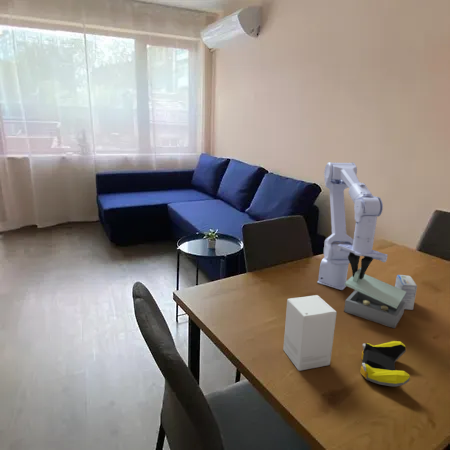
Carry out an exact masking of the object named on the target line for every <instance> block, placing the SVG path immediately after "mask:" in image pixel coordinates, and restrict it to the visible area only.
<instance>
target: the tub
mask: <svg viewBox="0 0 450 450" xmlns="http://www.w3.org/2000/svg"><path fill="white" fill-rule="evenodd" d="M404 308H405V302H404V301H401V302H400V304H399V305H398V307H397V309H396V308H394V307H392V306H389V305H387V304H385V303H383V302H381V301H378V300H376V299H374V298H372V297H370V296H368V295H365V294H363V293H361V292H359V291H357V290H353V292H352V293H351V294H350V295H349V296H348V297H347V298H346V299H345V300H344V308H343V312H344V313H347V314H350V315H354V316H357V317H360V318H362V319H364V320H368V321H371V322H374V323H377V324H381V325H383V326H386V327H389V328H392V329H395V328H396V327H397V326H398V323H399V322H400V320H401V318H402V316H403V315H404V312H405V309H404Z"/></svg>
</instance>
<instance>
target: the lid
mask: <svg viewBox="0 0 450 450" xmlns="http://www.w3.org/2000/svg"><path fill="white" fill-rule="evenodd" d="M360 272H361V266H360V267H358V270H357V271H356V272H355V275H354V277H353V274H352V275H351V276H350V277H349V278H348V279H347V280H346V282H345V285H346V287H348V288H349V289H352V290H353V291H355V290H357V291H359V292H361V293H363V294H365V295H368V296H370V297H372V298H374V299H376V300H378V301H381V302H383V303H385V304H387V305H389V306H392V307H394V308H396V309H397V307H398V305H399V304H400V302H401V301H402V299H403V297H404V296H405V294H406V291H404V290H401V289H399V288H397V287H395V285H391V284H389V283H387V282H384V281H383V280H380V279H378V278H376V277H373V276H371V275H368V274H366V273H365V274H364V278H363V279H359V278H360Z"/></svg>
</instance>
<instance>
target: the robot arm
mask: <svg viewBox="0 0 450 450" xmlns="http://www.w3.org/2000/svg"><path fill="white" fill-rule="evenodd" d="M357 174H358V167H357V165H356V163H355V162H330V161H328V162H327V163H326V165H325V167H324V171H323V175H324V176H323V177H324V184H325V185H324V186H325V188H327V189H328V191H329V202H330V203H329V204H330V205H329V206H330V225H331V234H330V235H329V236H328V237H326V238H325V240H324V242H323V243H324V247H323V258H322V259H321V261H320V265H319V271H318V278H317V279H318V280H317V284H320V285H324V286H327V287H330V288H334V289H337V290H340V291H343V290H344V289H345V288H346V287H347V286H346V285H345V282H346V281H347V280H348V279H347V278H348V271H349V265H350V267H351V273H352V275H353V277H354V275H355V272H356V271H357V270H358V269H359V262H360V261H361V262H360V267H361V272H360V278H359V279H363V278H364V274H366V271H367V270H368V268H369V266H370V264H371V263H372V262H373V260H377V261H381V262H382V263H386V262H387V261H388V254H386V253H383V252H380V251H377V250H374V249H373V247H374V240H375V234H376V228H377V221H378V217H380V216H381V214H382V213H383V209H384V208H383V207H384V206H383V204H384V203H383V201H382V199H381V197H380V196H376V195H373V194H372V192H371V191H370V189H369V188H368V187H367V186H368V185H366V184H365V182H360V180H359V177H358V176H357ZM348 188H349V189H348ZM346 189H348V196H349V197H350V198H351V199H350V200H352V203H353V204H354V206H353V209H354V221H355V225H354V227H355V228H354V232H353V233H354V234H353V238H352V237H351V236H350V235H348V234H347V226H346V225H347V223H346V222H347V221H346V208H345V207H346V205H345V190H346ZM361 257H362V259H360V258H361Z"/></svg>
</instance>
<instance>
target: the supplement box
mask: <svg viewBox="0 0 450 450" xmlns="http://www.w3.org/2000/svg"><path fill="white" fill-rule="evenodd" d="M285 311H286V312H285V323H284V324H285V325H284V336H283V351H284V353H285V355H287V357H288V359H289V360H290V361H291V362H292V364H293V365H294V367H295V368H296V369H297V371H299V372H301V371H305V370H310V369H315V368H320V367H325V366H330V365H331V361H332V352H333V344H334V335H335V327H336V319H337V311H336V310H335V309H334V308H333V307H332V306H331V305H330V304H328V303H327V302H326V301H325V300H324V299H323V298H321V296H319V295H318V294H315V295H314V294H313V295H307V296H301V297H300V296H299V297H291V298H287V301H286V310H285Z"/></svg>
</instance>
